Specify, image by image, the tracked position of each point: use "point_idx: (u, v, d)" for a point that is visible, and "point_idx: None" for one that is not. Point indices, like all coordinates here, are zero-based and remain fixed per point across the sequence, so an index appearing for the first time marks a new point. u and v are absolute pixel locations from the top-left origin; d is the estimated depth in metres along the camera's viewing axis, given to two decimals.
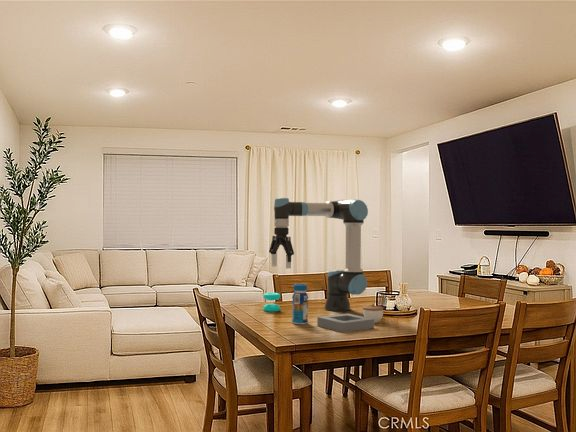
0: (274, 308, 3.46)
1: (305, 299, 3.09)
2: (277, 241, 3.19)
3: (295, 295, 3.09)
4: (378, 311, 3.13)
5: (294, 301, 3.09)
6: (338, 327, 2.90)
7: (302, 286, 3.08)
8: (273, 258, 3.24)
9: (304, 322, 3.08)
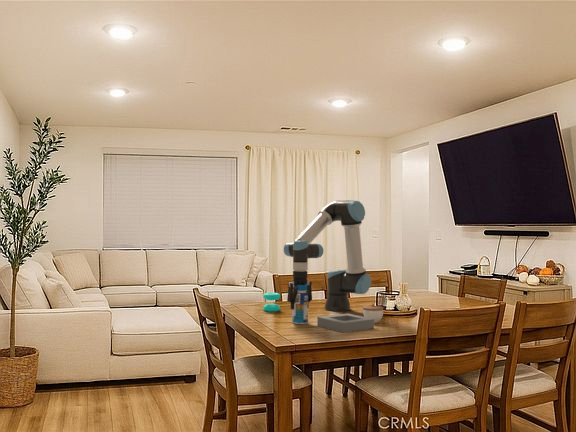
0: (274, 308, 3.46)
1: (305, 299, 3.09)
2: None
3: None
4: (378, 311, 3.13)
5: None
6: (338, 327, 2.90)
7: (303, 286, 3.09)
8: None
9: (304, 322, 3.08)
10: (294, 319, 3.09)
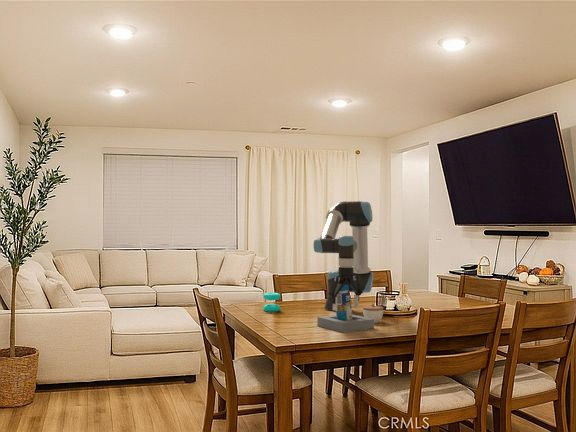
0: (274, 308, 3.46)
1: (347, 299, 2.99)
2: None
3: (337, 296, 3.00)
4: (378, 311, 3.13)
5: None
6: (338, 327, 2.90)
7: (344, 286, 2.99)
8: (354, 299, 3.06)
9: None
10: None
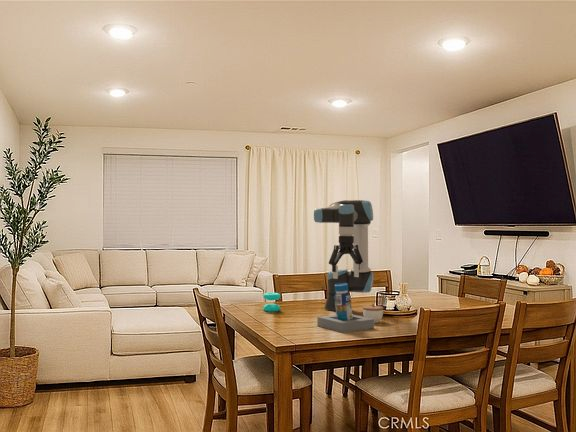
0: (274, 308, 3.46)
1: (347, 299, 2.99)
2: None
3: (337, 296, 3.00)
4: (378, 311, 3.13)
5: (336, 302, 3.00)
6: (338, 327, 2.90)
7: (343, 286, 2.98)
8: (354, 268, 3.06)
9: None
10: None
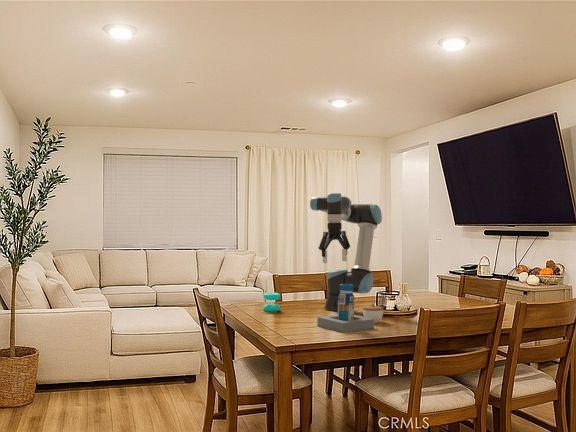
0: (274, 308, 3.46)
1: (351, 300, 3.00)
2: None
3: (341, 295, 3.01)
4: (378, 311, 3.13)
5: (339, 301, 3.01)
6: (338, 327, 2.90)
7: (348, 286, 3.00)
8: (342, 253, 3.26)
9: None
10: None
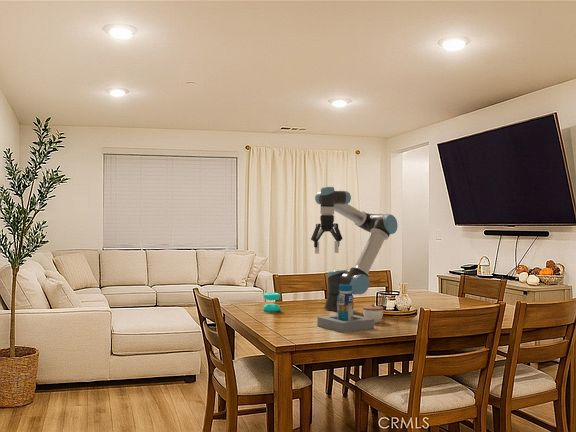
0: (274, 308, 3.46)
1: (350, 300, 3.00)
2: None
3: (340, 296, 3.01)
4: (378, 311, 3.13)
5: (339, 302, 3.01)
6: (338, 327, 2.90)
7: (347, 286, 3.00)
8: (335, 245, 3.38)
9: None
10: None
